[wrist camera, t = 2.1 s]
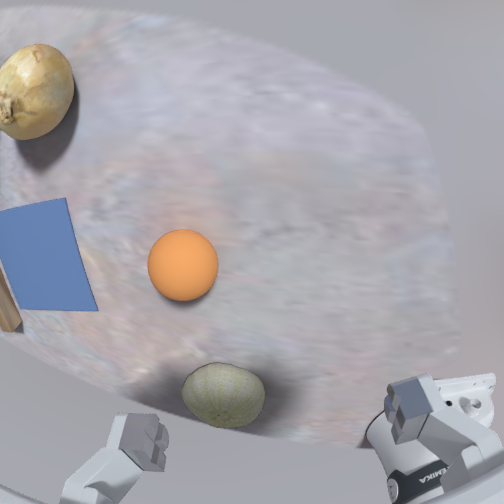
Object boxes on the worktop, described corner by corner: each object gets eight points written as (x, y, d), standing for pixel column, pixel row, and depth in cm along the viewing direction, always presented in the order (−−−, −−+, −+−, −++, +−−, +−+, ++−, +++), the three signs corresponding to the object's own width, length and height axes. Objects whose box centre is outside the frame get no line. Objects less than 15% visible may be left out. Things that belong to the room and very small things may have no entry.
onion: (8, 103, 21) (-43, 110, 14) (53, 33, 18) (3, 22, 12) (53, 151, 23) (2, 169, 16) (104, 79, 21) (56, 73, 14)
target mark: (65, 197, 25) (64, 198, 24) (98, 309, 30) (97, 311, 30) (-12, 214, 25) (-13, 214, 25) (21, 307, 30) (20, 308, 30)
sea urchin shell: (202, 426, 35) (177, 439, 28) (192, 367, 38) (165, 367, 30) (274, 419, 34) (265, 434, 27) (264, 357, 37) (252, 356, 29)
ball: (217, 217, 25) (208, 244, 20) (224, 276, 28) (218, 314, 23) (153, 222, 26) (130, 250, 21) (165, 279, 28) (148, 315, 23)
